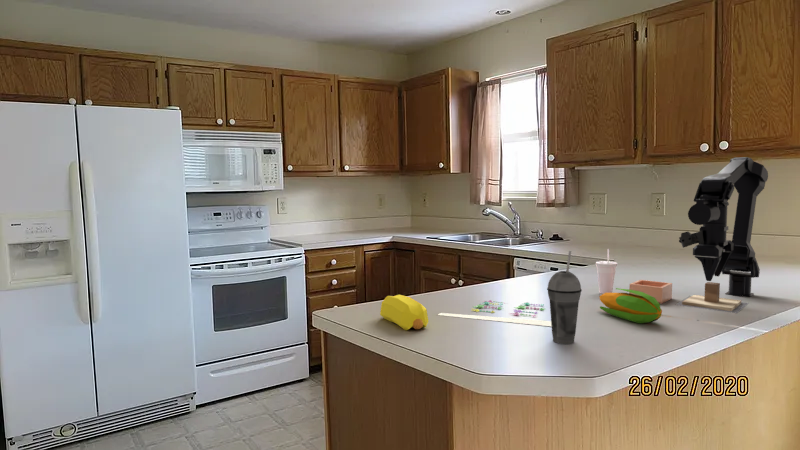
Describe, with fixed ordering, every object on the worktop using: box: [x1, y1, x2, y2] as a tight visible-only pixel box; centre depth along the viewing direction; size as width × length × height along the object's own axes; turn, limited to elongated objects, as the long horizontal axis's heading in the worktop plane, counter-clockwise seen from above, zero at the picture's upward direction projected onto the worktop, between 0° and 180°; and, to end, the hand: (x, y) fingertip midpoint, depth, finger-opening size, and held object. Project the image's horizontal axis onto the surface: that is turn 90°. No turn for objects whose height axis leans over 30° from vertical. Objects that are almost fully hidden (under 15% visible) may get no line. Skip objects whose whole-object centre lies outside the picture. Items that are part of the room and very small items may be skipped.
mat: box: [674, 295, 749, 314], centre depth 150 cm, size 15×15×1 cm
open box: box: [628, 279, 673, 305], centre depth 157 cm, size 9×9×5 cm
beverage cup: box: [546, 250, 583, 345], centre depth 118 cm, size 7×7×20 cm
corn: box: [599, 287, 663, 325], centre depth 138 cm, size 7×8×20 cm
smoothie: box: [595, 248, 618, 295], centre depth 168 cm, size 6×6×14 cm
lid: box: [681, 281, 742, 311], centre depth 150 cm, size 12×12×6 cm
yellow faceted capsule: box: [379, 294, 429, 331], centre depth 135 cm, size 18×7×8 cm
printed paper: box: [437, 299, 552, 327], centre depth 150 cm, size 30×30×2 cm
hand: (712, 278), depth 150 cm, fingers open, 9 cm apart
